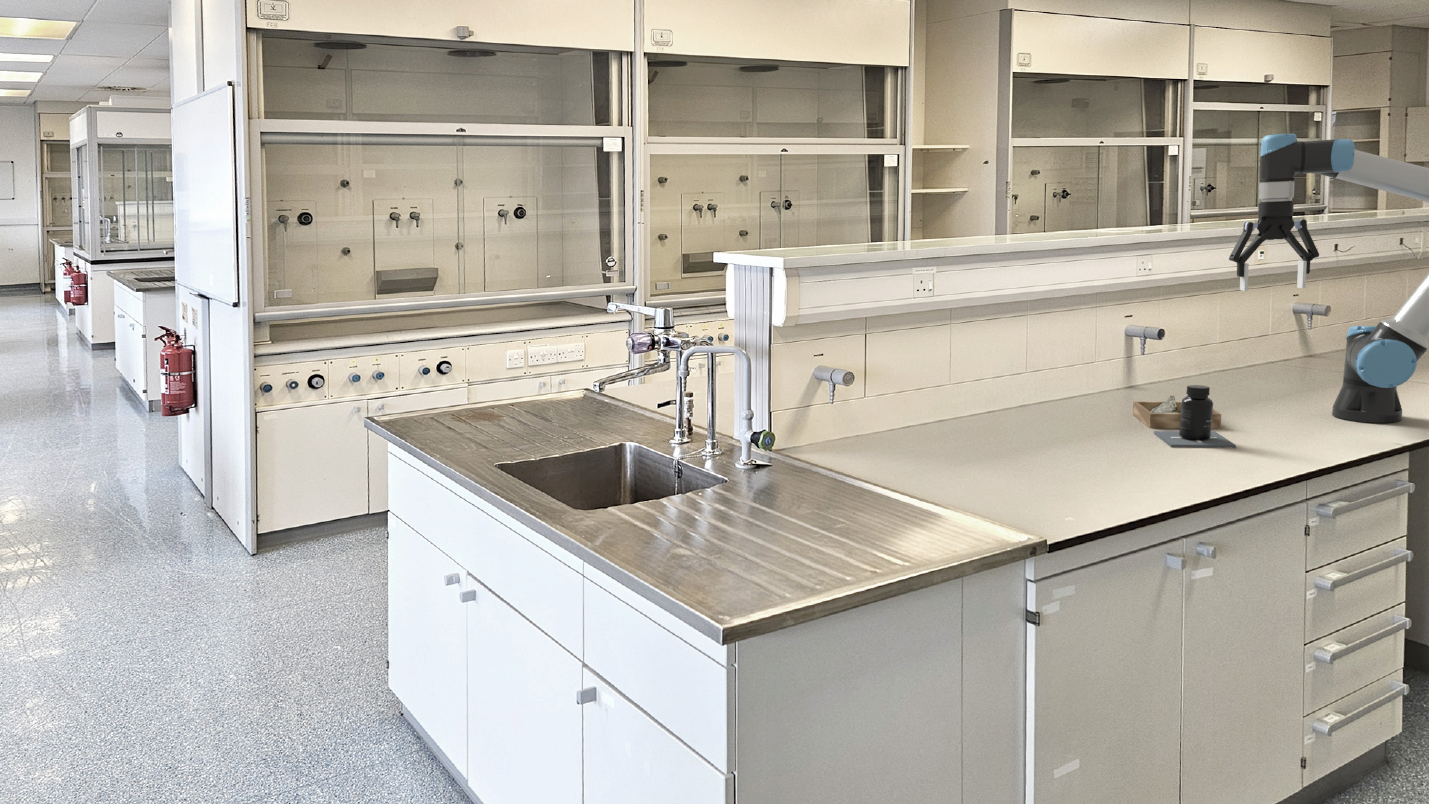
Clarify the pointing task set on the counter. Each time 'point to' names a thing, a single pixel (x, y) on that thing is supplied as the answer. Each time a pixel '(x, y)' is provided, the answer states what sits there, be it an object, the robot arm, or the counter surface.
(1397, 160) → the robot arm
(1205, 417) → the supplement bottle
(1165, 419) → the tray
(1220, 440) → the rest mat
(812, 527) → the counter surface
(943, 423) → the counter surface
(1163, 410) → the rock sample
